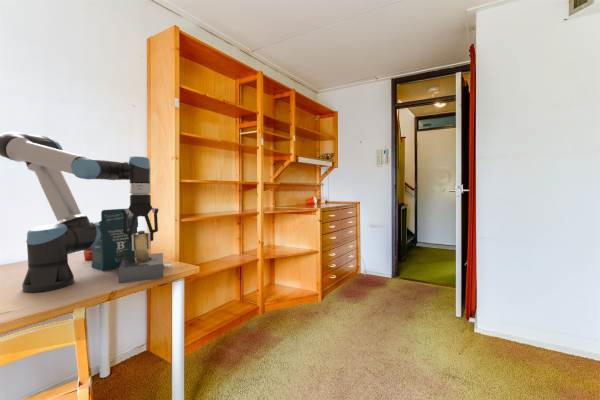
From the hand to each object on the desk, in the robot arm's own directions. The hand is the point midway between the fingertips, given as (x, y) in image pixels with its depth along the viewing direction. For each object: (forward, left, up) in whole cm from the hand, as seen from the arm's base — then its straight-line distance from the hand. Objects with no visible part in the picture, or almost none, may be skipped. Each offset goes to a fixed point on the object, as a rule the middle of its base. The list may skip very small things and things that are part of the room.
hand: (141, 249), depth 122 cm
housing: (0, +7, -12) cm, 14 cm away
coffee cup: (-26, +46, -12) cm, 55 cm away
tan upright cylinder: (0, 0, -5) cm, 5 cm away
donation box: (-14, +29, -12) cm, 34 cm away
